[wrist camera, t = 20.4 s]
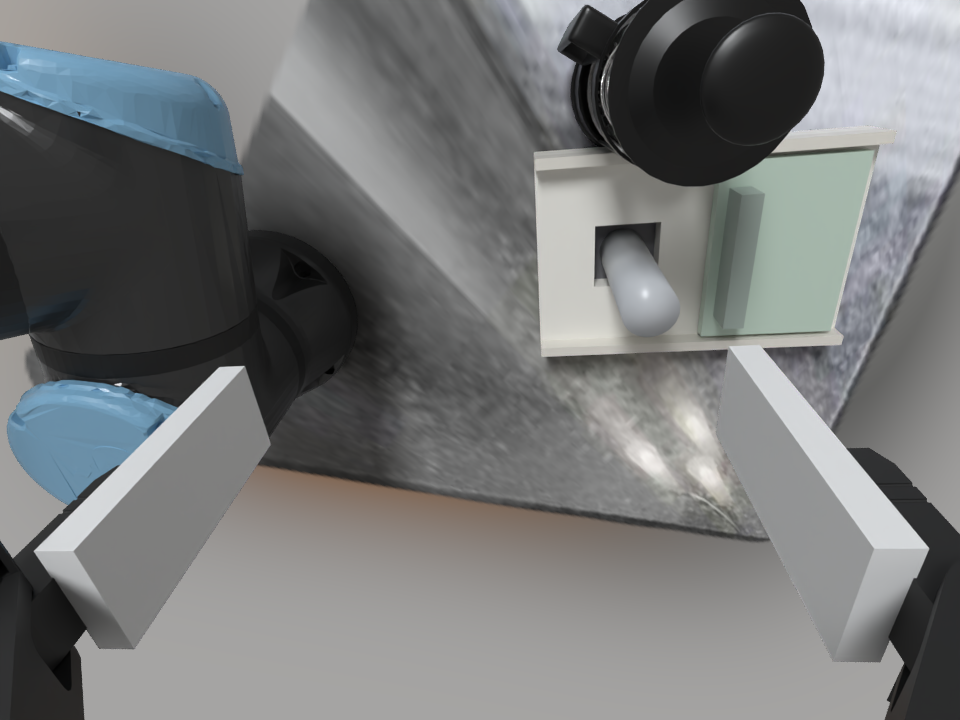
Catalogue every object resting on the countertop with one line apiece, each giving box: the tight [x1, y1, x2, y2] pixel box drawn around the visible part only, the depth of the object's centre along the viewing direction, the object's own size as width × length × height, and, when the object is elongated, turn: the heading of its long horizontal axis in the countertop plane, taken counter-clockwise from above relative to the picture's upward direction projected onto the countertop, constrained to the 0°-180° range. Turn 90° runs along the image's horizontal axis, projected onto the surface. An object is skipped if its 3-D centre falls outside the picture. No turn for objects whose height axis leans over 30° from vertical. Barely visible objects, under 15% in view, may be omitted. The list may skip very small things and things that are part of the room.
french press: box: [557, 0, 824, 187], centre depth 29 cm, size 12×9×23 cm
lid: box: [698, 149, 875, 336], centre depth 40 cm, size 10×14×4 cm
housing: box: [534, 125, 897, 357], centre depth 43 cm, size 24×16×4 cm, turn 95°
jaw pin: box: [599, 229, 680, 337], centre depth 39 cm, size 4×4×12 cm
